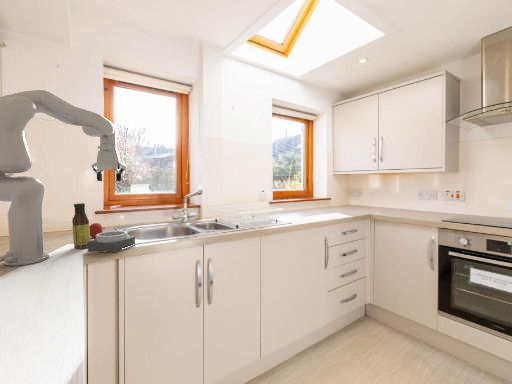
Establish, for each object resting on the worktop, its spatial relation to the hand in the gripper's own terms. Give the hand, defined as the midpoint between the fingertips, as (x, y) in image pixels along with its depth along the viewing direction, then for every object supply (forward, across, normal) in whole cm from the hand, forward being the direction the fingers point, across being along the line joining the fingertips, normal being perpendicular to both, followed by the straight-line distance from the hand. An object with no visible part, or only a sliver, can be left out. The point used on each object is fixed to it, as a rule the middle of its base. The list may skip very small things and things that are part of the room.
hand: (109, 181), depth 136 cm
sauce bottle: (+30, -2, -21) cm, 37 cm away
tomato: (+30, -6, -2) cm, 31 cm away
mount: (+30, +12, -22) cm, 39 cm away
